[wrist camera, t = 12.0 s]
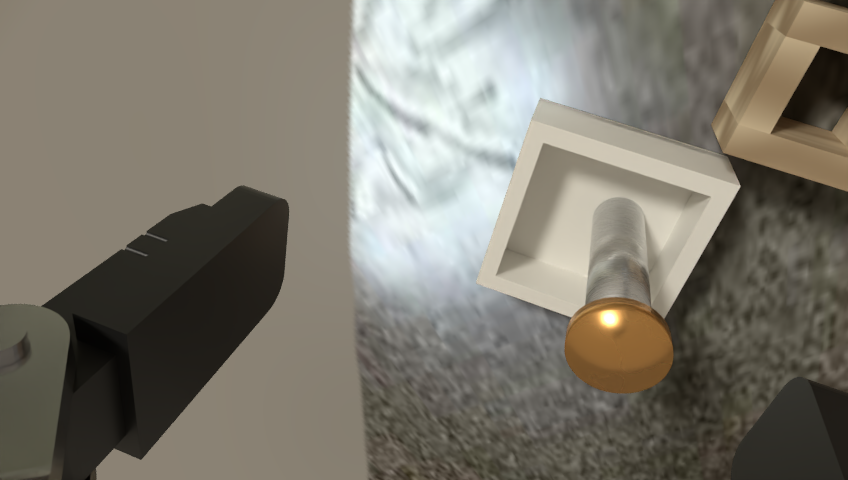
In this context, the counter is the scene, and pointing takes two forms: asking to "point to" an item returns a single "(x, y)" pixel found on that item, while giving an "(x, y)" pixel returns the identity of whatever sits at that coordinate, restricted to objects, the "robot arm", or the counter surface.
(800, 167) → the pin block
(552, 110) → the tray
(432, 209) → the counter surface
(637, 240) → the pin
